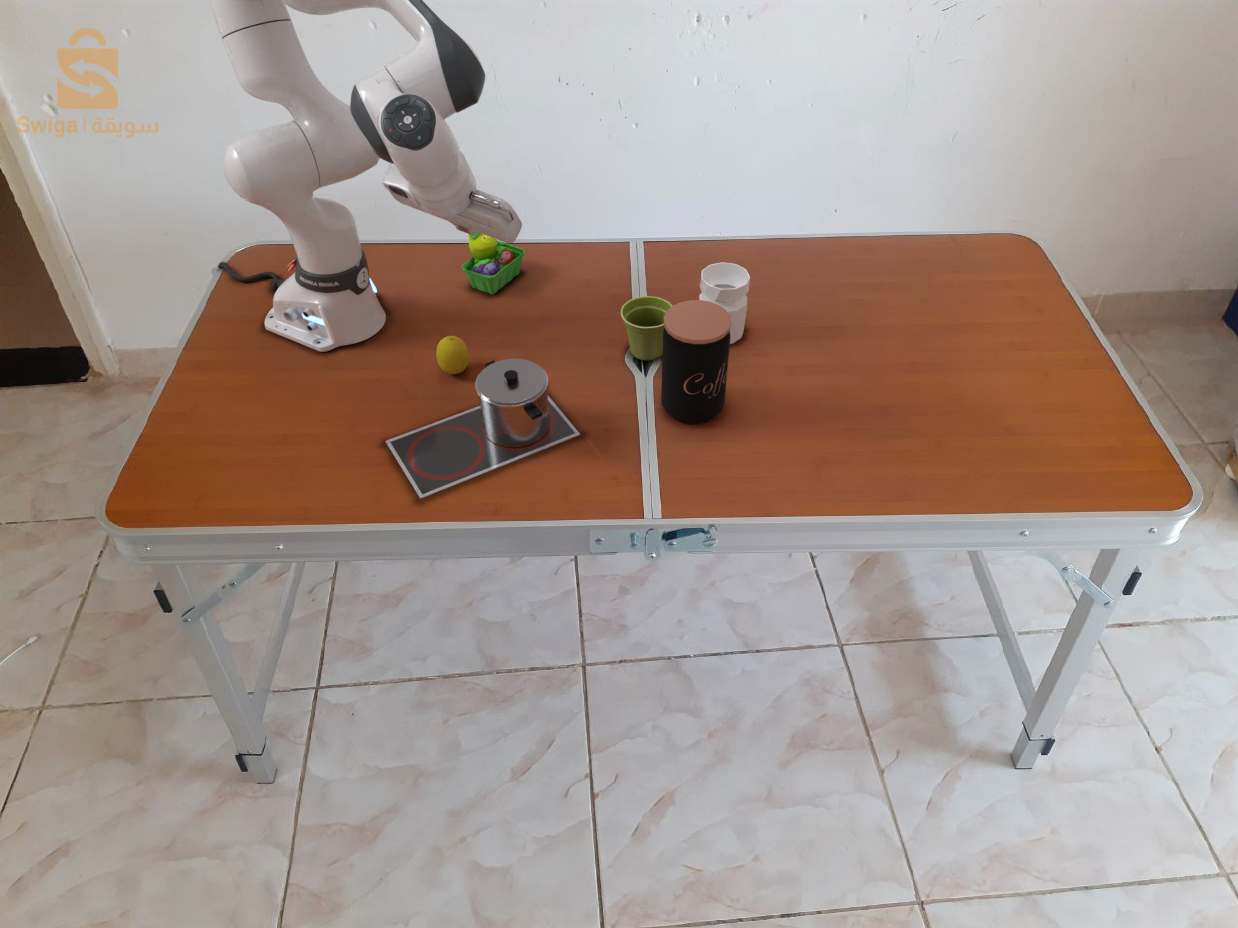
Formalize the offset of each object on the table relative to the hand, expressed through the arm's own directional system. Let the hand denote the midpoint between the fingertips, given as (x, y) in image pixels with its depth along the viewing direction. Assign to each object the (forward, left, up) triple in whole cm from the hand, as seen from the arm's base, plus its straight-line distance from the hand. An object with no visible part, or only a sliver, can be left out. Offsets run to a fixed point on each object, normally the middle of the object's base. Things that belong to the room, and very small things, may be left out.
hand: (468, 228), depth 148 cm
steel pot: (+10, -11, -28) cm, 32 cm away
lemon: (-5, -2, -29) cm, 30 cm away
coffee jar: (+37, +3, -29) cm, 47 cm away
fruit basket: (-11, +27, -29) cm, 41 cm away
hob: (+7, -16, -29) cm, 34 cm away
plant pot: (+25, +15, -29) cm, 41 cm away
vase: (+36, +25, -29) cm, 52 cm away
